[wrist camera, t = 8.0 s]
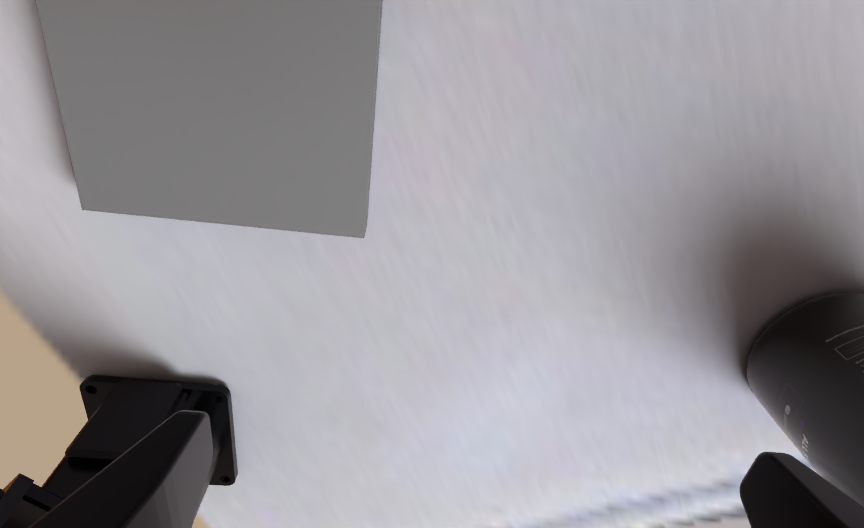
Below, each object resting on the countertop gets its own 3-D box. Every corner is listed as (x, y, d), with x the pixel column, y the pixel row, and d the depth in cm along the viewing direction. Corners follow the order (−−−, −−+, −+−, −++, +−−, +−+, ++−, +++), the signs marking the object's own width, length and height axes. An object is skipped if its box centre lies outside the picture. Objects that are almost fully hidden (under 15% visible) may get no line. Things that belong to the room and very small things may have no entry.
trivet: (366, 224, 20) (364, 238, 19) (100, 197, 19) (82, 209, 18) (393, -166, 14) (391, -177, 13) (14, -228, 13) (-20, -246, 12)
